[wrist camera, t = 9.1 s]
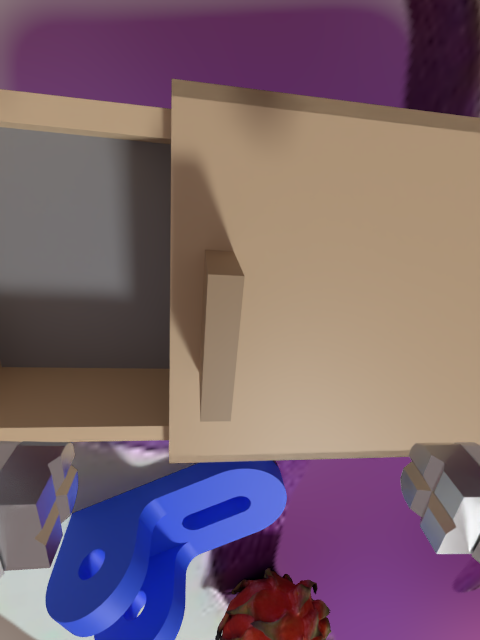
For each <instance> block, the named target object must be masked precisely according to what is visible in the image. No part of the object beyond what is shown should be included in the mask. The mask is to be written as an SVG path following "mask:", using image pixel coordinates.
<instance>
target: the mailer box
mask: <svg viewBox="0 0 480 640" xmlns="http://www.w3.org/2000/svg"><path fill="white" fill-rule="evenodd" d="M171 112H172V109H166V108H159V107H150V106H141V105H132V104H123V103H115V102H107V101H98V100H89V99H81V98H72V97H64V96H55V95H46V94H37V93H28V92H20V91H11V90H3V89H0V441H16V442H23V441H37V442H92V441H145V440H169V388H170V250H171Z"/></svg>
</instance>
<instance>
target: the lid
mask: <svg viewBox="0 0 480 640" xmlns="http://www.w3.org/2000/svg"><path fill="white" fill-rule="evenodd" d="M455 442H475V443H477V444H478V445H480V118H476V117H468V116H460V115H452V114H444V113H437V112H429V111H421V110H413V109H405V108H397V107H389V106H382V105H374V104H366V103H358V102H351V101H343V100H334V99H327V98H319V97H312V96H304V95H296V94H288V93H280V92H272V91H265V90H257V89H249V88H241V87H233V86H226V85H218V84H210V83H202V82H194V81H186V80H178V79H172V112H171V250H170V388H169V463H199V462H235V461H271V460H306V459H340V458H341V459H342V458H378V457H410V456H409V453H410V450H411V447H412V446H413V445H415V444H416V443H455Z"/></svg>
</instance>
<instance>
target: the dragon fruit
mask: <svg viewBox="0 0 480 640" xmlns="http://www.w3.org/2000/svg"><path fill="white" fill-rule="evenodd" d="M270 569H271V568H268V569H266V570H265V574H264V577H265V578H267V579H259V580H245V579H244V580H242V581H241V582H240V583H239V584H238V585H237V586H236V587H235V588H234V589H233V590H232V594H235V593H236V592H240V593H239V594H238V595H237V596H236V597H235V598H234V599H233V600H232V601H231V602H230V604H229V606H228V609H227V611H226V613H225V616H224V618H223V619H222V621H221V622H220V624H219V626H218V630H217V635H216V638H215V640H219V639H220V640H326V638H327V636H328V635H329V633H330V632H331V630H330V623H329V620H328V618H327V617H326V616H327V615H328V614H329V613H330V612H329V611H330V610H329V608H328V607H327V606H326V604H325V603H324V602H323V601H321V600H313V599H312V598H311V593H310V592H311V588H312V587H313V590H314V593H315V594H316V591H317V584H316V583H314V582H312V581H311V580H304V581H300V583H298V584H297V585H295V584H293V581H292V579H291V578H290V576H289V575H288V574H285V575H284V576H283V577H281V576H279V575H277V573H276V572H275V571H270ZM222 630H223V633H222ZM221 634H222V636H221Z"/></svg>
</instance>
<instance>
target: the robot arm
mask: <svg viewBox="0 0 480 640" xmlns="http://www.w3.org/2000/svg"><path fill="white" fill-rule="evenodd" d="M409 456H410V458H411V460H412V462H410V463H409V464H408V465H407V466H406V467H404V469H403V472H402V475H401V490H402V493H403V496H404V499H405V501H406V502H407V504H408V506H409V508H410V509H411V510H413V511H414V512H415V513H417V514H418V515H419V516H420V517H421V521H420V527H421V528H422V530H423V532H424V534H425V535H426V537H427V539H428V540H429V542H430V544H431V545H432V547H433V549H434V550H435V552H436V554H472V557H473V558H475V559H476V560H477V561H478V562H479V563H480V445H478V444H477V443H475V442H455V443H416V444H415V445H413V446H412V447H411V450H410V453H409ZM74 457H75V452H74V447H73V444H72V443H70V442H37V441H23V442H16V441H0V577H1V576H2V575H3V574H4V571H7V570H22V569H38V568H50V567H51V564H52V561H53V559H54V556H55V554H56V551H57V549H58V546H59V544H60V541H61V538H62V536H63V534H62V528H61V523H62V522H63V521H64V520H66V519H67V518H68V517H69V516H70V515H71V512H72V510H73V507H74V504H75V500H76V496H77V491H78V472H77V469H75V468H74V467H73V466H72V465H71V464H72V461H73V459H74Z"/></svg>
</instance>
